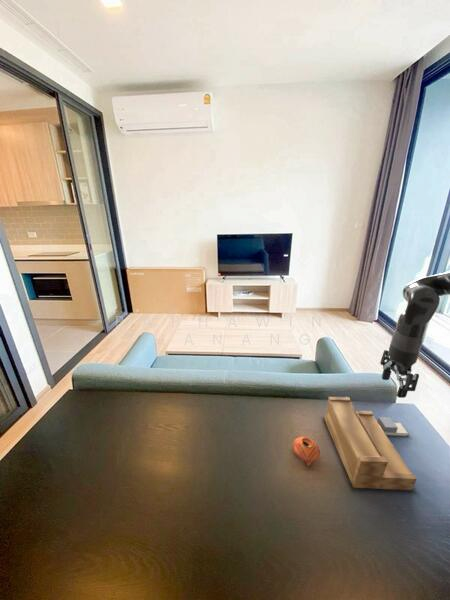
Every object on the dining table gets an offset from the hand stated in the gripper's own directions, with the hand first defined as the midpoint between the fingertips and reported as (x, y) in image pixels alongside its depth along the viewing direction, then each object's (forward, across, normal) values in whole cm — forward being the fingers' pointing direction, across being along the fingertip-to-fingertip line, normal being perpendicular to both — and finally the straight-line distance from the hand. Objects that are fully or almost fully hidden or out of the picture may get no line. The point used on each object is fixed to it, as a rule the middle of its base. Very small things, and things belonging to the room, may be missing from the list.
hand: (392, 387), depth 81 cm
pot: (+17, -13, +30) cm, 37 cm away
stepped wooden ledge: (+17, -10, +12) cm, 23 cm away
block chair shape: (+17, -2, -3) cm, 17 cm away
